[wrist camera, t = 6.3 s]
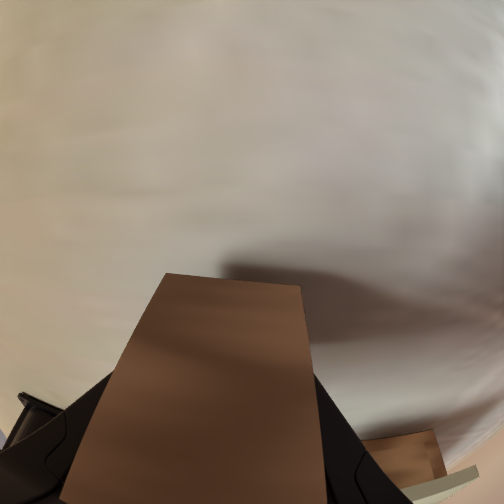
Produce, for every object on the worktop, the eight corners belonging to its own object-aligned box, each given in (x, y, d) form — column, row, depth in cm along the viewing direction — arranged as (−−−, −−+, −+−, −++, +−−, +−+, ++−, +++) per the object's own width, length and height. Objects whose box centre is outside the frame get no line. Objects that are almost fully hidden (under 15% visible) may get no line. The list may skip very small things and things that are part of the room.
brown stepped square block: (175, 362, 10) (122, 557, 3) (166, 272, 9) (47, 535, 2) (281, 374, 10) (282, 580, 3) (300, 285, 9) (330, 586, 2)
